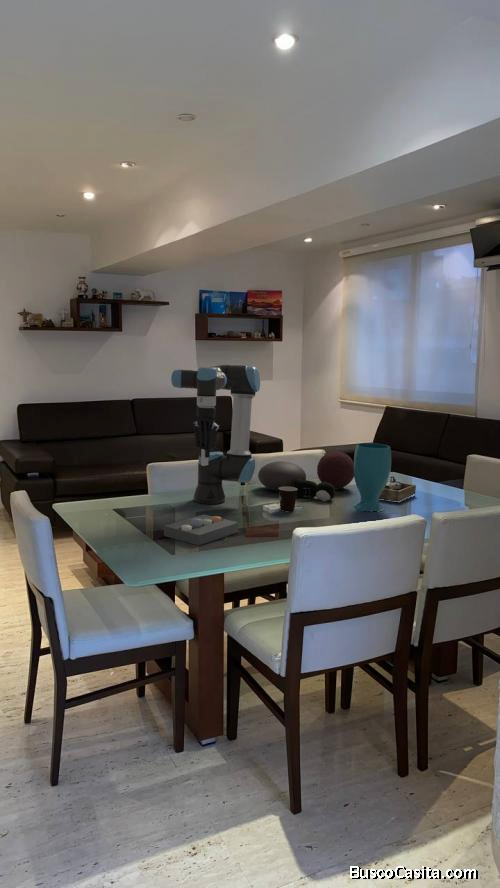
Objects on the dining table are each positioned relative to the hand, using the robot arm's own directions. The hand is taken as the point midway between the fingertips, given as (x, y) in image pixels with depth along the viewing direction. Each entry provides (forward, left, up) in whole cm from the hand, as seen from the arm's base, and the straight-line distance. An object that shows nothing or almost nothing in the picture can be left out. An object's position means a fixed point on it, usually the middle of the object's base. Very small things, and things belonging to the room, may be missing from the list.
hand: (204, 465), depth 269 cm
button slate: (+5, -10, -23) cm, 26 cm away
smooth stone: (-16, +82, -26) cm, 88 cm away
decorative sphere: (+2, +106, -26) cm, 109 cm away
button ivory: (+5, -16, -25) cm, 30 cm away
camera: (+32, +112, -27) cm, 119 cm away
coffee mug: (+8, +51, -26) cm, 58 cm away
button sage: (+5, -4, -25) cm, 26 cm away
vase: (+35, +80, -26) cm, 91 cm away
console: (+5, -7, -26) cm, 27 cm away
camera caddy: (+34, +110, -26) cm, 118 cm away
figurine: (+6, +78, -27) cm, 83 cm away
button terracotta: (+5, +2, -25) cm, 25 cm away
